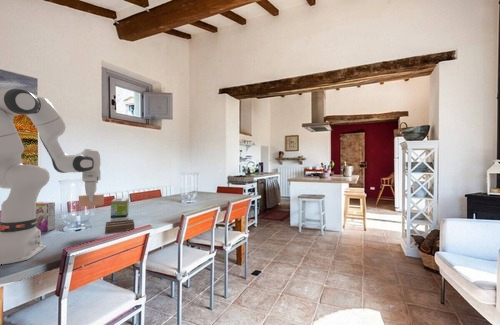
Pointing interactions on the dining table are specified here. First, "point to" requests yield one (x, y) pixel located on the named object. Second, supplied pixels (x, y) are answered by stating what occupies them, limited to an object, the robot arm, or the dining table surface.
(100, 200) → the tile strip
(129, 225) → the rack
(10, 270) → the dining table surface
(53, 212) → the candy bar box
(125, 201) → the tea box
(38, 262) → the dining table surface
